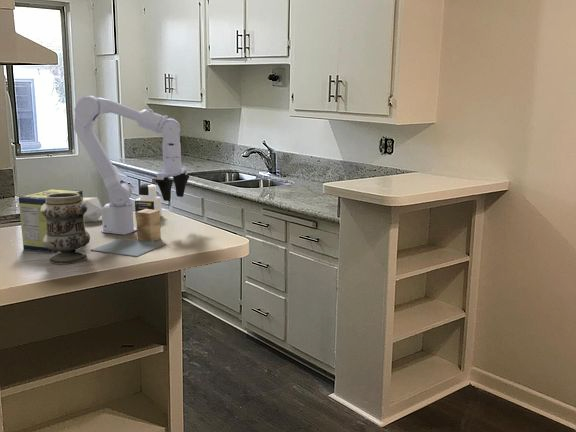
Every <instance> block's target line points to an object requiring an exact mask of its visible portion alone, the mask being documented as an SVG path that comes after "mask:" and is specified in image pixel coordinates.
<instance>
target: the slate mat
mask: <svg viewBox="0 0 576 432" xmlns="http://www.w3.org/2000/svg"><path fill="white" fill-rule="evenodd" d="M166 245H167V244H166V243H163V242H156V241H154V242H148V241H140V240H138V239H131V238H123V237H122V238H118V239H116V240H113V241H111V242H108V243H105V244H102V245H100V246H96V247H94V248H91V249H90V251H91V252H99V253H103V254H104V253H106V254H113V255H120V256H126V257H127V256H128V257H134V258H135V257H136V258H138V257H140V256H142V255H145V254H147V253H149V252H151V251H153V250H156V249H159V248H160V247H163V246H166Z"/></svg>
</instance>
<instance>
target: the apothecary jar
mask: <svg viewBox="0 0 576 432" xmlns="http://www.w3.org/2000/svg"><path fill="white" fill-rule="evenodd" d="M86 211H87V205H86V204H85V203H84V202H83V201H81V198H80V195H79V194H78V193H70V192H68V193H54V194H49V195H47V196H46V203H45V204H43V205H42V207H41V214H42V215H43V216H45V217H46V222H47V234H46V235H45V236H44V237H43V244H44V245H45V246H46V247H47V248H48V249H51V250H54V251H55V252H58V253H56V254H54V255H52V256H51V257H50V258H49V261H48V262H49V263H51V264H55V265H70V264H75V263H79V262H83V261H85V260H87V259H88V254H86V253H84V252H80V251H77V250H79V249H81V248H83V247H86V245H88V244H89V243H90V241H91V235H90V233H89V232H88V231H87V230H86V227H85V228H84V220H83V214H84V213H86Z"/></svg>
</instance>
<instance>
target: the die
mask: <svg viewBox="0 0 576 432" xmlns="http://www.w3.org/2000/svg"><path fill="white" fill-rule="evenodd" d="M83 202H84V203H85V204H86V205H87V211H86V213H84V220H85V223H86V222H87V223H90V222H91V223H92V222H93V223H95V222H97V221H98V220H99V219H100V217H102V209H103V206H102V204H101V202H100V199H99V197H83Z"/></svg>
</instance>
